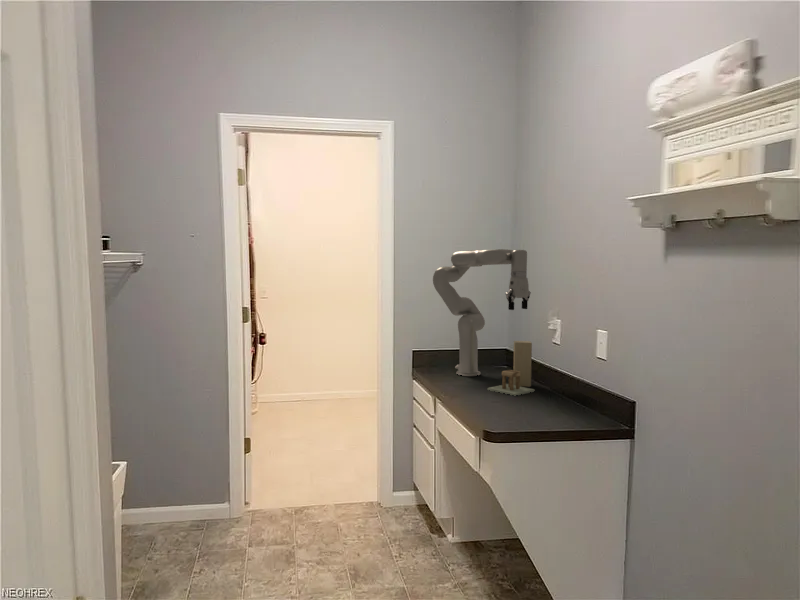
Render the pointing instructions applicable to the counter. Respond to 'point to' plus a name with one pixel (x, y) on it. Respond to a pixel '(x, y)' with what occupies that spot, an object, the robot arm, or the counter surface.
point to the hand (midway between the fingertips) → (517, 309)
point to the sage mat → (511, 392)
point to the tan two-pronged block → (511, 379)
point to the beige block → (523, 362)
